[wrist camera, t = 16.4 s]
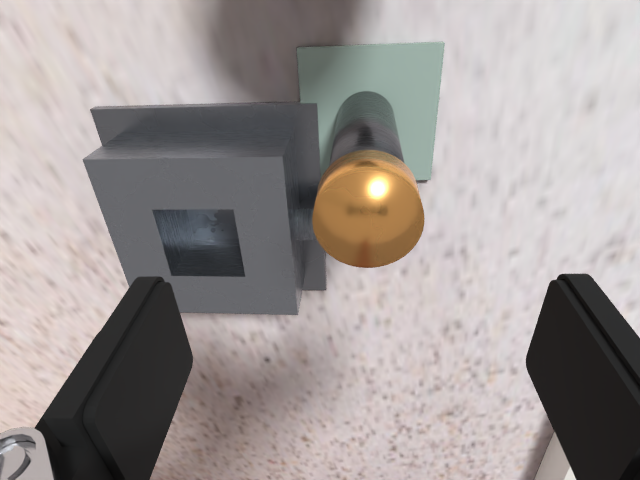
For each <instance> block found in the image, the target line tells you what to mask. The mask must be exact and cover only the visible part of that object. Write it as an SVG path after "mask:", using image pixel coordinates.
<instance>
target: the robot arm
mask: <svg viewBox="0 0 640 480" xmlns="http://www.w3.org/2000/svg"><path fill="white" fill-rule="evenodd" d="M192 363H193V356H192V352H191V348H190V345H189V342H188V338H187V335H186V332H185V328H184V325H183V322H182V319H181V315H180V312H179V309H178V305H177V302H176V299H175V295H174V292H173V289H172V286H171V284H170V283H169V282H165V281H164V279H163V278H162V277H160V276H147V277H137V278H136V279H135V280H134V282H133V283H132V285H131V286H130V288H129V289H128V291H127V292H126V294H125V295H124V297H123V298H122V300H121V301H120V303H119V304H118V306H117V307H116V309H115V310H114V312H113V313H112V315H111V316H110V318H109V319H108V321H107V322H106V324H105V325H104V327H103V328H102V330H101V331H100V332H99V333H98V334H97V335H96V337H95V338H94V340H93V341H92V343H91V344H90V346H89V347H88V349H87V350H86V352H85V353H84V355H83V356H82V358H81V359H80V361H79V362H78V364H77V365H76V367H75V368H74V370H73V371H72V373H71V374H70V376H69V377H68V379H67V380H66V382H65V383H64V385H63V386H62V388H61V389H60V391H59V392H58V394H57V395H56V397H55V398H54V400H53V401H52V403H51V404H50V406H49V407H48V409H47V410H46V412H45V413H44V415H43V416H42V418H41V419H40V421H39V422H38V424H37V425H36V427H35V428H29V427H20V428H14V429H10V430H8V431H5V432H3V433H0V480H150V477H151V474H152V472H153V469H154V466H155V464H156V461H157V458H158V456H159V453H160V450H161V448H162V445H163V443H164V440H165V437H166V435H167V432H168V429H169V427H170V424H171V421H172V419H173V416H174V413H175V411H176V408H177V406H178V403H179V400H180V398H181V395H182V392H183V390H184V387H185V384H186V382H187V379H188V376H189V374H190V371H191V368H192ZM526 367H527V370H528V373H529V375H530V378H531V380H532V382H533V384H534V387H535V389H536V391H537V393H538V395H539V398H540V400H541V402H542V404H543V407H544V409H545V411H546V413H547V416H548V418H549V420H550V422H551V424H552V427H553V429H554V431H555V433H556V436H557V438H558V440H559V442H560V445H561V447H562V449H563V451H564V453H565V456H566V458H567V460H568V462H569V465H570V467H571V469H572V471H573V474H574V476H575V478H576V480H640V338H639V337H638V335H637V334H636V333H635V332H634V330H633V329H632V328H631V326H630V325H629V324H628V323H627V321H626V320H625V319H624V318H623V316H622V315H621V314H620V312H619V311H618V310H617V309H616V307H615V306H614V305H613V304H612V302H611V301H610V300H609V299H608V297H607V296H606V295H605V293H604V292H603V291H602V290H601V288H600V287H599V286H598V285H597V283H596V282H595V281H594V279H593V278H592V277H591V276H590V275H588V274H561V275H559V276H558V277H557V280H552V281H551V282H550V284H549V286H548V290H547V293H546V296H545V299H544V302H543V305H542V309H541V312H540V315H539V318H538V321H537V324H536V328H535V331H534V334H533V337H532V340H531V343H530V347H529V350H528V353H527V356H526Z"/></svg>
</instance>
